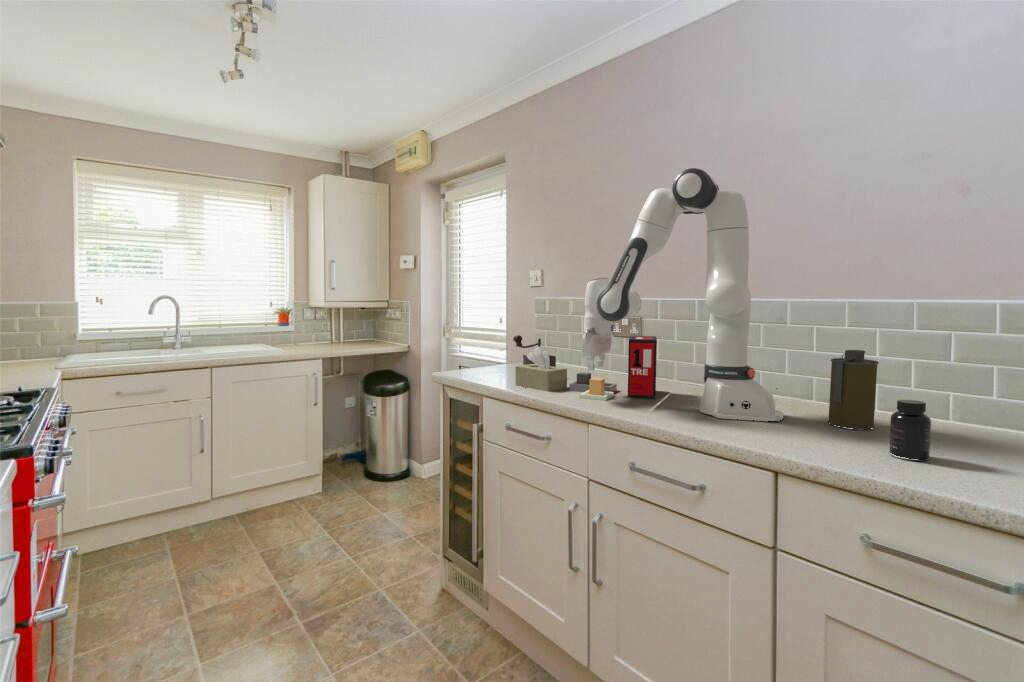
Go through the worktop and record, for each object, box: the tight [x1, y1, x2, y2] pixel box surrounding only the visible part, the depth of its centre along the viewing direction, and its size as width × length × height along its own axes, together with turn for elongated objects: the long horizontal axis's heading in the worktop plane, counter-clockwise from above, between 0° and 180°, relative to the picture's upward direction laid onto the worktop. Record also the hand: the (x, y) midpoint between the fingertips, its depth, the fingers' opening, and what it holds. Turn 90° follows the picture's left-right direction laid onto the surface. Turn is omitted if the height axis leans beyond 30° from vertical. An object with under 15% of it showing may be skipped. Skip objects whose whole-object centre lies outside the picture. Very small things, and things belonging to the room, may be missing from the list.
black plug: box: [576, 371, 592, 385], centre depth 185 cm, size 4×4×6 cm
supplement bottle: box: [888, 399, 932, 461], centre depth 109 cm, size 7×7×12 cm
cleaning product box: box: [627, 335, 658, 400], centre depth 177 cm, size 16×9×20 cm, turn 165°
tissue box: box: [515, 346, 568, 392], centre depth 191 cm, size 19×10×16 cm, turn 39°
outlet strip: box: [568, 380, 618, 393], centre depth 183 cm, size 15×8×3 cm, turn 62°
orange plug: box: [589, 377, 606, 396], centre depth 172 cm, size 4×4×6 cm
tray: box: [579, 390, 615, 401], centre depth 172 cm, size 9×9×2 cm
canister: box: [827, 349, 880, 429], centre depth 135 cm, size 11×10×20 cm
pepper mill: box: [512, 334, 557, 367], centre depth 216 cm, size 16×11×18 cm
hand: (595, 368), depth 171 cm, fingers open, 8 cm apart
